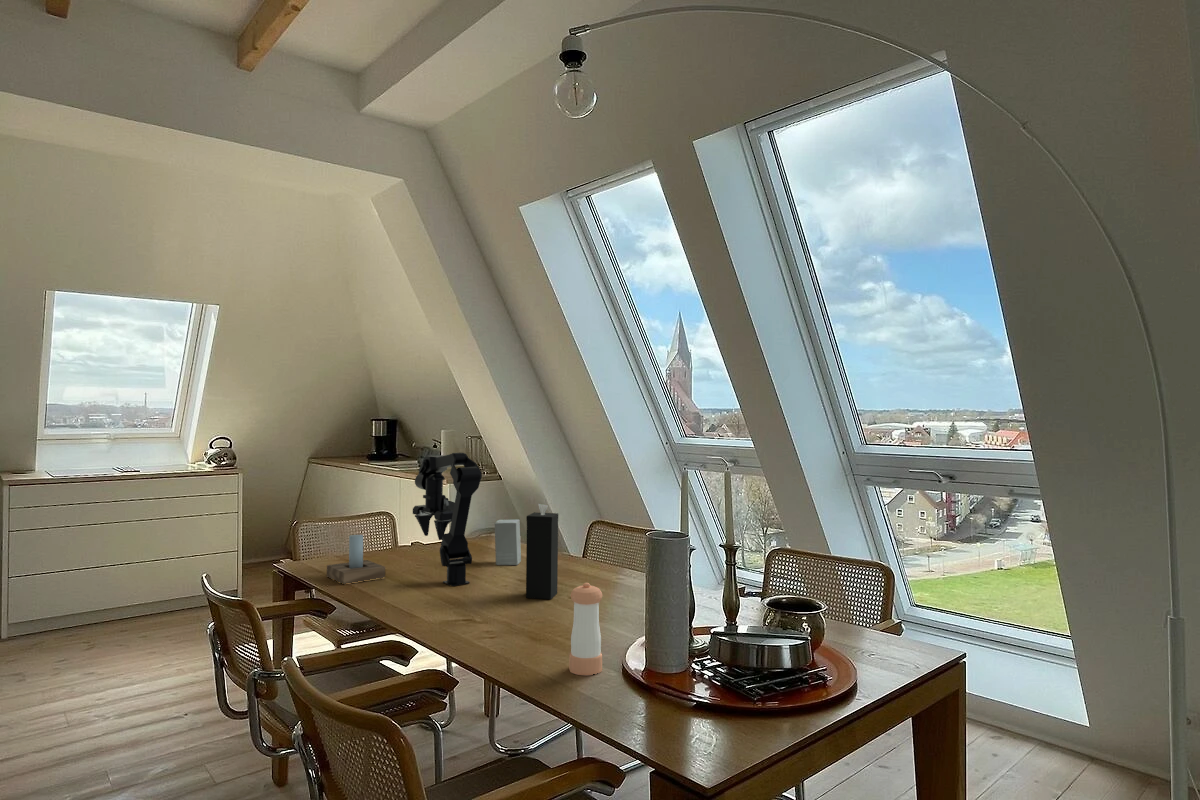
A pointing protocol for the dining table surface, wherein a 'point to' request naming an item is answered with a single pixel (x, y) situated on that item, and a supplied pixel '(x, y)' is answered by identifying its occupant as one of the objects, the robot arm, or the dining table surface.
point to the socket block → (355, 572)
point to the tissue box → (542, 554)
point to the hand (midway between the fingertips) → (433, 537)
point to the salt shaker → (586, 631)
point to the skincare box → (507, 542)
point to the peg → (355, 551)
